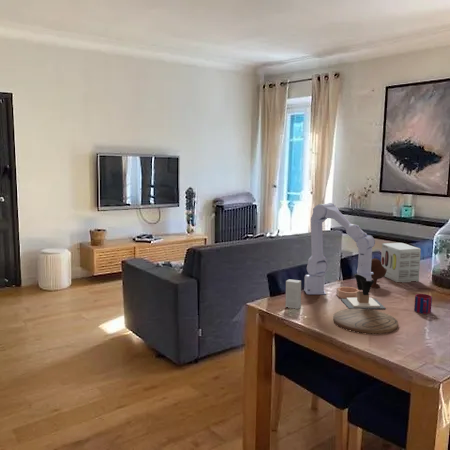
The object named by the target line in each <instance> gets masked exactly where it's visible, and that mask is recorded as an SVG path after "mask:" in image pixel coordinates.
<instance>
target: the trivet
mask: <svg viewBox="0 0 450 450" xmlns="http://www.w3.org/2000/svg"><path fill="white" fill-rule="evenodd" d="M332 317H333V318H332V321H333V322H334V323H333V324H335V326H337V325H338V327H339V328H341V327H342V329H343V328H344V329H343V330H346V329H347V330H346V331H349V330H351V331H350V332H352V331H355V332H354V333H357V332H359V333H358V334H363V333H366V335H385V334H390V333H392V332H395V331H396V330H397V329H398V328H399V321H398V319H397V318H396V317H394V316H393V315H391V314H389V313H386V312H382V311H378V310H376V309H348V308H346V309H340V310H338V311H335V312H334V314H333V316H332Z"/></svg>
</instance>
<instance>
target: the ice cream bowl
mask: <svg viewBox="0 0 450 450" xmlns="http://www.w3.org/2000/svg"><path fill="white" fill-rule="evenodd" d="M386 271H387V269H386V268H384V267H383V266H382V264H381V259H378V258H373V257H372V262H371V272H373V274H372V275H371V277H372V278H371V280H374V283H373V284H372V286H371V288H370V289H380V288H381V285H380V284H378V280H380V279H382V278H384V277H385V274H386Z"/></svg>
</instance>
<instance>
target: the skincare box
mask: <svg viewBox="0 0 450 450" xmlns="http://www.w3.org/2000/svg"><path fill="white" fill-rule="evenodd" d="M286 307H288V309H294V308H295V309H294V310H299V309H300V308H301V307H302V280H298V279H290V278H289V279H287V280H285V308H286Z"/></svg>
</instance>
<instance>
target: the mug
mask: <svg viewBox="0 0 450 450" xmlns="http://www.w3.org/2000/svg"><path fill="white" fill-rule="evenodd" d="M432 302H433V297H432V295H430V294H426V293H416V294H415V295H414V308H413V310H414V312H415V313H418V314H424V315H427V314H431V313H432Z"/></svg>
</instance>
